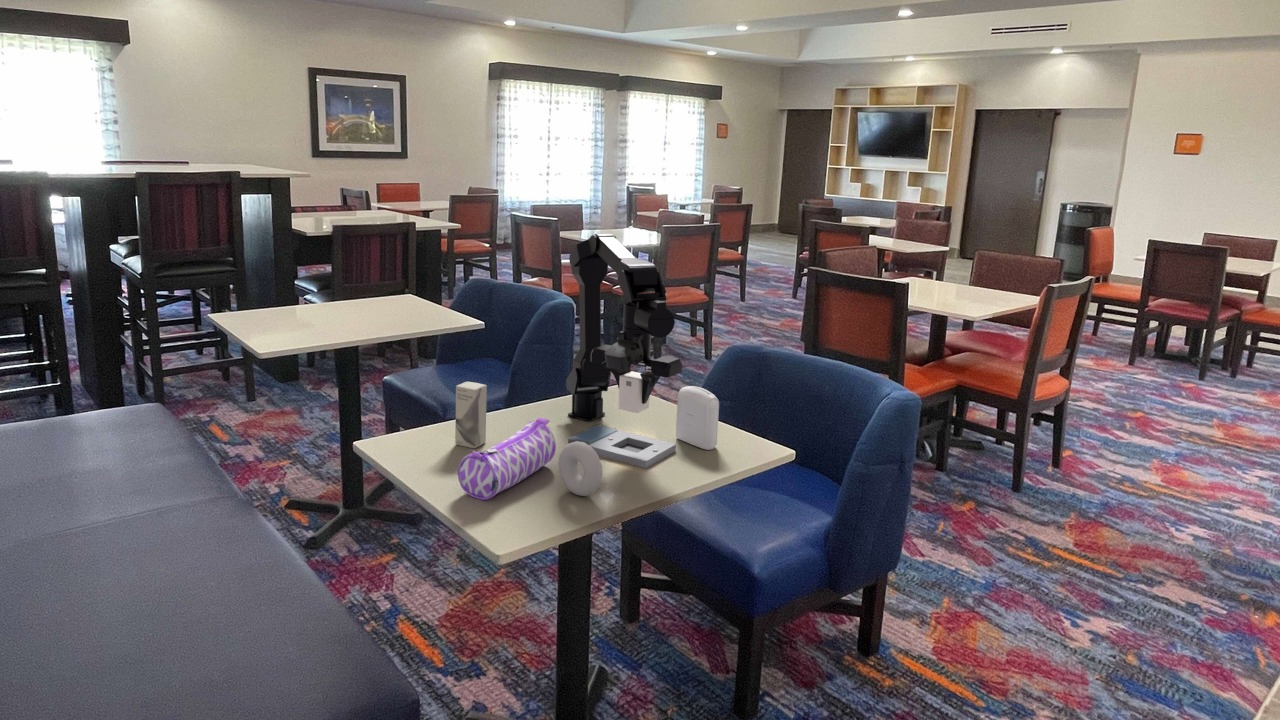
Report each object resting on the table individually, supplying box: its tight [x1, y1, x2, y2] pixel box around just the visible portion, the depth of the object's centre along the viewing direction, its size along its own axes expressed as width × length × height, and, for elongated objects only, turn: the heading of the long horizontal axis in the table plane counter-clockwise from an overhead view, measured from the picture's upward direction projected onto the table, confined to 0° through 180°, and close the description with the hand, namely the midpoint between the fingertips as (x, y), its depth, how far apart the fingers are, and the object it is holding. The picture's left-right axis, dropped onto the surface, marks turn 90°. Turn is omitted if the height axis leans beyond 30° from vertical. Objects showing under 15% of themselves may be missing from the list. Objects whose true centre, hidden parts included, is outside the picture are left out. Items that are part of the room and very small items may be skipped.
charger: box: [618, 370, 650, 414], centre depth 169 cm, size 4×4×7 cm
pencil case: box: [457, 417, 557, 501], centre depth 154 cm, size 22×9×10 cm, turn 155°
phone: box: [567, 424, 620, 445], centre depth 179 cm, size 6×11×1 cm, turn 148°
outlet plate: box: [589, 429, 677, 469], centre depth 172 cm, size 14×12×2 cm
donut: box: [558, 441, 603, 497], centre depth 149 cm, size 10×4×10 cm, turn 47°
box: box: [454, 381, 488, 449], centre depth 171 cm, size 5×4×13 cm
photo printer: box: [675, 385, 720, 451], centre depth 177 cm, size 10×4×12 cm, turn 39°
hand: (634, 401), depth 169 cm, fingers closed on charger, 4 cm apart
